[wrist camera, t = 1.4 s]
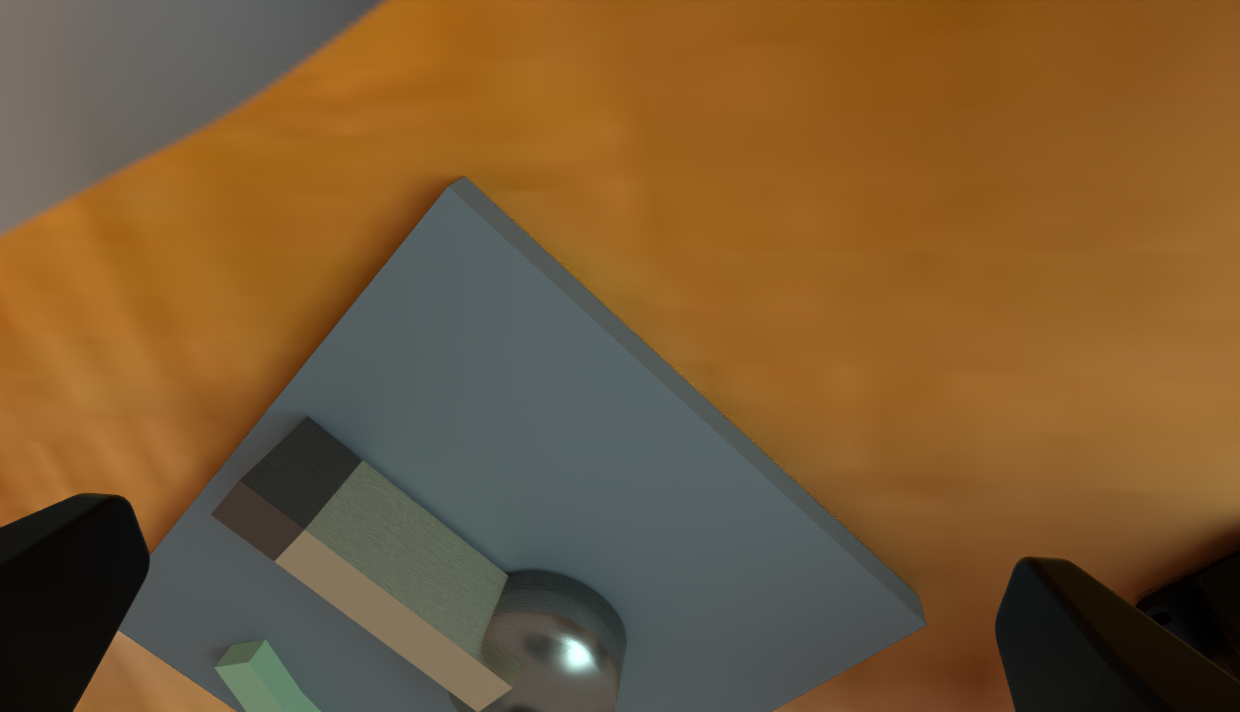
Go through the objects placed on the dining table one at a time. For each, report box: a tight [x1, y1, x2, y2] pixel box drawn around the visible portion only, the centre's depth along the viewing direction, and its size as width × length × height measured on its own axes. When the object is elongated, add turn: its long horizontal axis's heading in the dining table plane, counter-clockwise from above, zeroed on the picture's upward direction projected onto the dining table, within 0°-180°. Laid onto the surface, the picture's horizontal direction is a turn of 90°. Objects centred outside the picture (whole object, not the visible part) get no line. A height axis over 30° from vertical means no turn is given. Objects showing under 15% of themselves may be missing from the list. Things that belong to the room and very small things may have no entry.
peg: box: [211, 416, 627, 712], centre depth 21 cm, size 12×5×3 cm, turn 47°
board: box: [118, 176, 927, 712], centre depth 24 cm, size 18×22×2 cm
